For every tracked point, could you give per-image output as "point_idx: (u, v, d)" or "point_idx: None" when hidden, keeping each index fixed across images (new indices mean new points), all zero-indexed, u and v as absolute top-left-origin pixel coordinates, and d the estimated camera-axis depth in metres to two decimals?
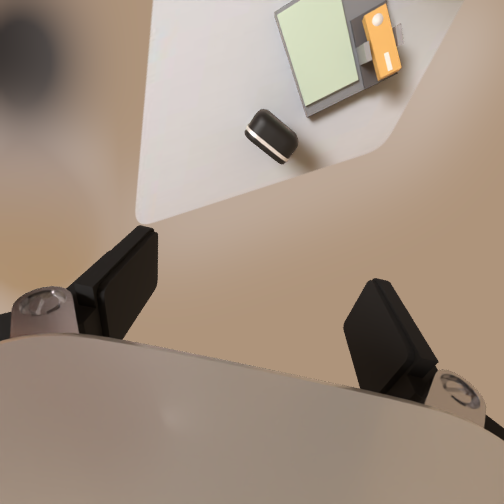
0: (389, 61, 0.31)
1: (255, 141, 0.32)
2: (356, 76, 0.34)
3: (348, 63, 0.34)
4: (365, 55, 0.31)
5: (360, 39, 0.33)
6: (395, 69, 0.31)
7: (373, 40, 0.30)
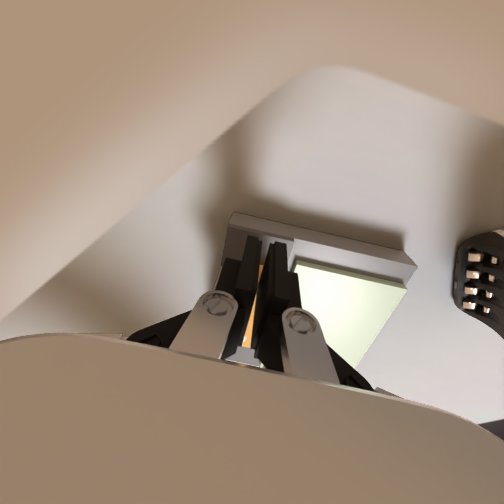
0: None
1: None
2: (297, 270, 0.17)
3: None
4: None
5: None
6: None
7: None
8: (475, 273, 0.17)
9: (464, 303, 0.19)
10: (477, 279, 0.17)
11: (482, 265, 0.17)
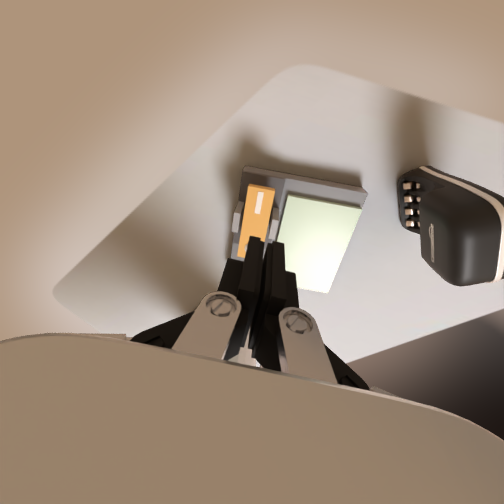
0: (257, 201, 0.23)
1: None
2: (288, 200, 0.25)
3: (290, 218, 0.26)
4: (277, 227, 0.24)
5: (267, 230, 0.27)
6: (255, 188, 0.22)
7: (263, 233, 0.24)
8: (409, 198, 0.25)
9: (406, 222, 0.27)
10: (411, 202, 0.26)
11: (412, 191, 0.25)
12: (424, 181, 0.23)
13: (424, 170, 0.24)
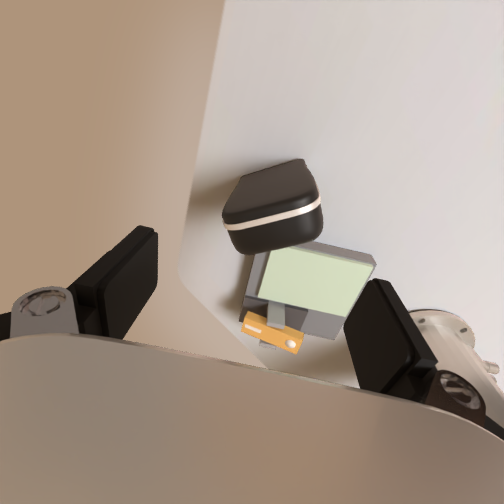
0: (252, 329, 0.30)
1: (290, 205, 0.15)
2: (261, 297, 0.30)
3: (278, 296, 0.30)
4: (274, 322, 0.28)
5: (288, 311, 0.31)
6: (243, 327, 0.30)
7: (277, 332, 0.29)
8: None
9: None
10: None
11: None
12: None
13: None
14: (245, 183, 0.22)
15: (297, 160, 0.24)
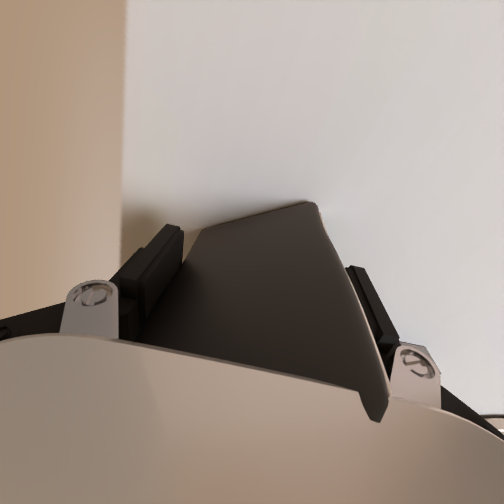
0: None
1: None
2: None
3: None
4: None
5: None
6: None
7: None
8: None
9: None
10: None
11: None
12: None
13: None
14: (198, 261, 0.11)
15: (304, 206, 0.12)
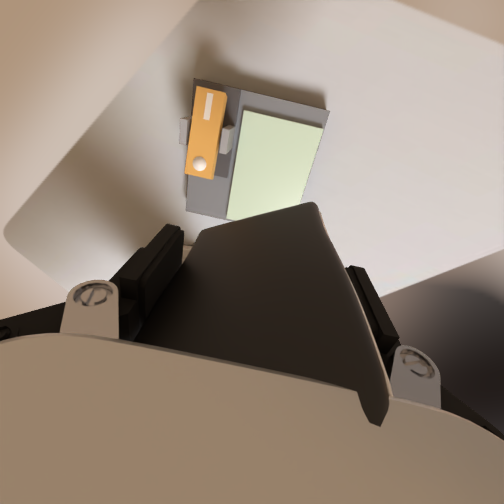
0: (206, 105, 0.21)
1: None
2: (244, 116, 0.23)
3: (247, 139, 0.24)
4: (228, 139, 0.22)
5: (224, 153, 0.25)
6: (204, 89, 0.21)
7: (213, 145, 0.22)
8: None
9: None
10: None
11: None
12: None
13: None
14: (198, 261, 0.11)
15: (304, 206, 0.12)
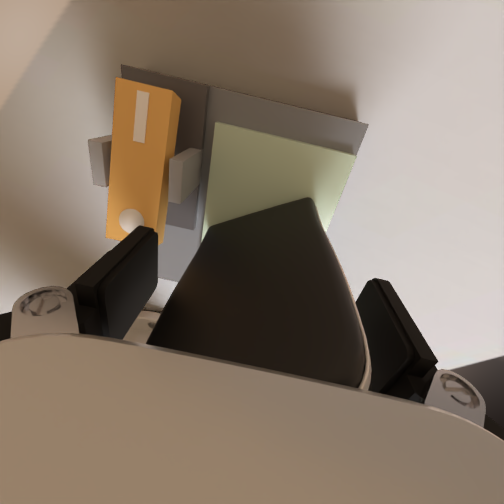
0: (138, 114, 0.11)
1: None
2: (217, 132, 0.13)
3: (223, 171, 0.14)
4: (182, 177, 0.12)
5: None
6: (131, 84, 0.11)
7: (155, 189, 0.12)
8: None
9: None
10: None
11: None
12: None
13: None
14: (208, 253, 0.12)
15: (301, 201, 0.14)
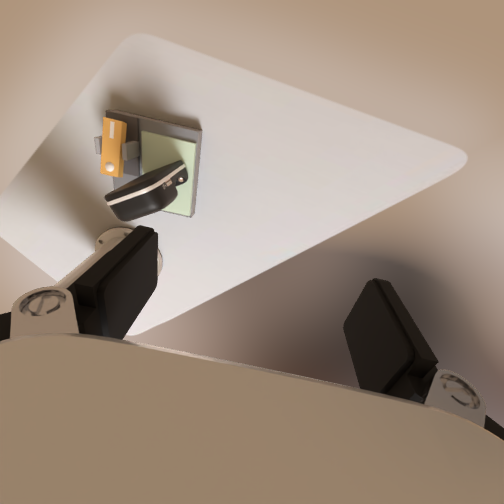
0: (111, 129, 0.33)
1: (135, 188, 0.27)
2: (142, 135, 0.35)
3: (147, 150, 0.36)
4: (127, 150, 0.33)
5: (133, 159, 0.37)
6: (108, 119, 0.32)
7: (117, 154, 0.33)
8: None
9: (181, 182, 0.37)
10: None
11: None
12: None
13: None
14: (137, 178, 0.34)
15: (176, 161, 0.35)
